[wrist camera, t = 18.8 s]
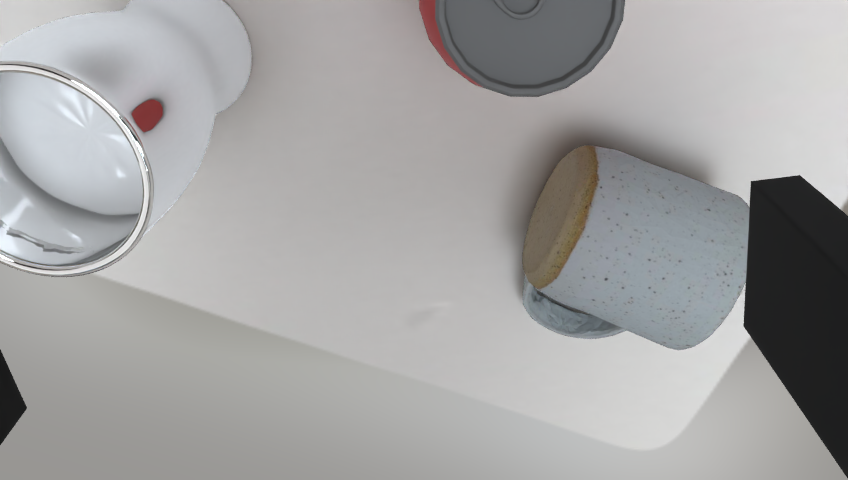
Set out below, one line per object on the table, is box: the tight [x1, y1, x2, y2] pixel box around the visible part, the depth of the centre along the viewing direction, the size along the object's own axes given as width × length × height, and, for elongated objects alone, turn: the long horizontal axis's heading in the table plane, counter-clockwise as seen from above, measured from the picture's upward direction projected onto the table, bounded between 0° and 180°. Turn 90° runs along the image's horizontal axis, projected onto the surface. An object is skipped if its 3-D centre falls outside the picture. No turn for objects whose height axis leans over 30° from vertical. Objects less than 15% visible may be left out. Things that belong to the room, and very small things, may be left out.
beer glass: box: [0, 0, 252, 277], centre depth 29 cm, size 7×7×15 cm
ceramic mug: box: [522, 145, 750, 350], centre depth 36 cm, size 11×8×8 cm
